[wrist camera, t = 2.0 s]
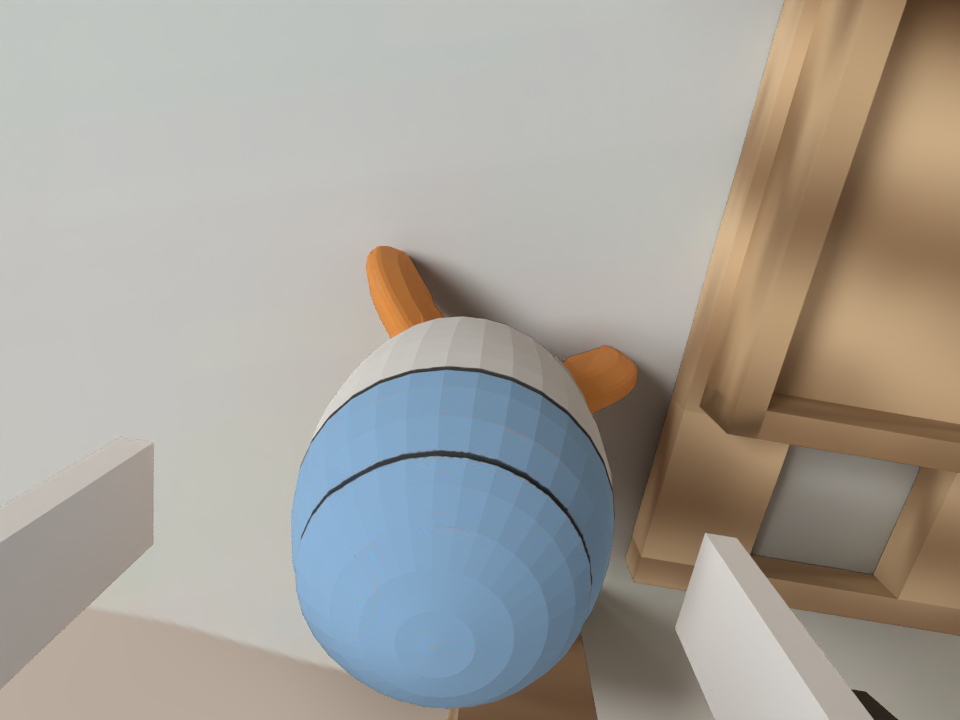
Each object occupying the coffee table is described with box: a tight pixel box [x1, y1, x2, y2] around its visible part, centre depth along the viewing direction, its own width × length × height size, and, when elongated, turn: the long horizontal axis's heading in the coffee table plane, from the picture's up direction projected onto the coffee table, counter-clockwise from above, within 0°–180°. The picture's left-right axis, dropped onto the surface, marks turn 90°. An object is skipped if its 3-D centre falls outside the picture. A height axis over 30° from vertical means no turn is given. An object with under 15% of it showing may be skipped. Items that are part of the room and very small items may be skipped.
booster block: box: [447, 632, 598, 720], centre depth 20 cm, size 4×4×9 cm
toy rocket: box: [291, 246, 638, 709], centre depth 16 cm, size 10×11×15 cm
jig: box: [626, 0, 960, 636], centre depth 18 cm, size 23×15×4 cm, turn 171°
